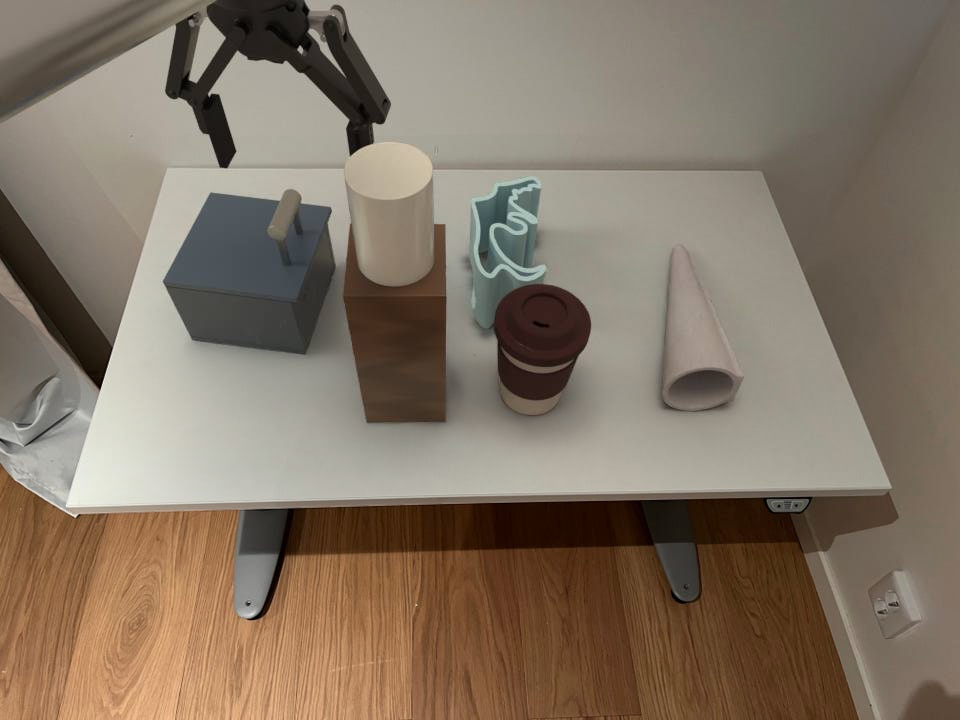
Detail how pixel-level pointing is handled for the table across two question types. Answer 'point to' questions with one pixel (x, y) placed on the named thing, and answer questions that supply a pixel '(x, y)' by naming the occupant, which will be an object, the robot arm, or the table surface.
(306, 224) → the box lid
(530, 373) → the coffee cup
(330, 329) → the table surface
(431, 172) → the beige canister
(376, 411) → the stand
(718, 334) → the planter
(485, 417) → the table surface
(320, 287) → the grey box
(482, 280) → the squiggly pen holder
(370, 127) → the robot arm
